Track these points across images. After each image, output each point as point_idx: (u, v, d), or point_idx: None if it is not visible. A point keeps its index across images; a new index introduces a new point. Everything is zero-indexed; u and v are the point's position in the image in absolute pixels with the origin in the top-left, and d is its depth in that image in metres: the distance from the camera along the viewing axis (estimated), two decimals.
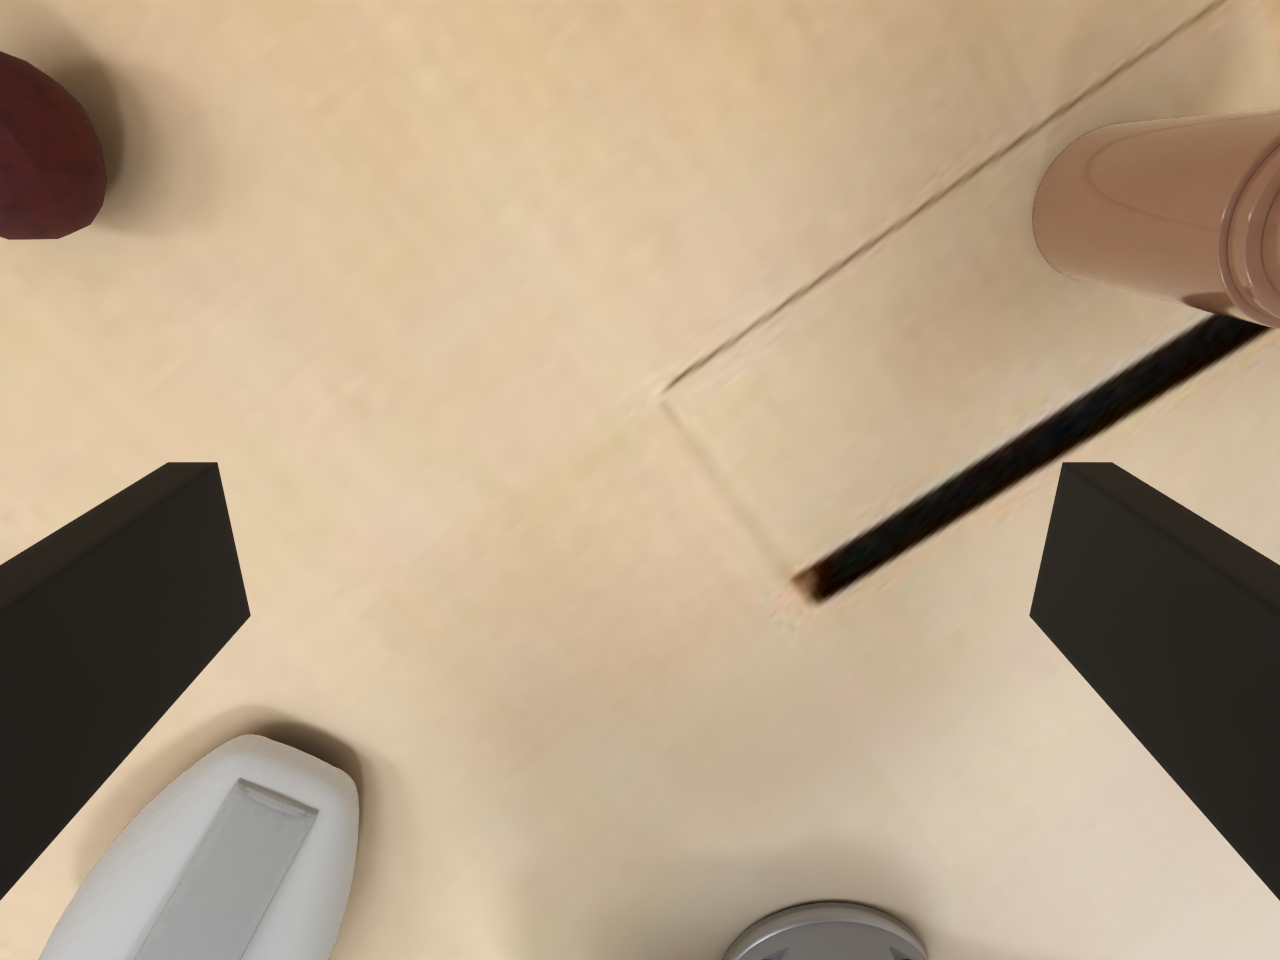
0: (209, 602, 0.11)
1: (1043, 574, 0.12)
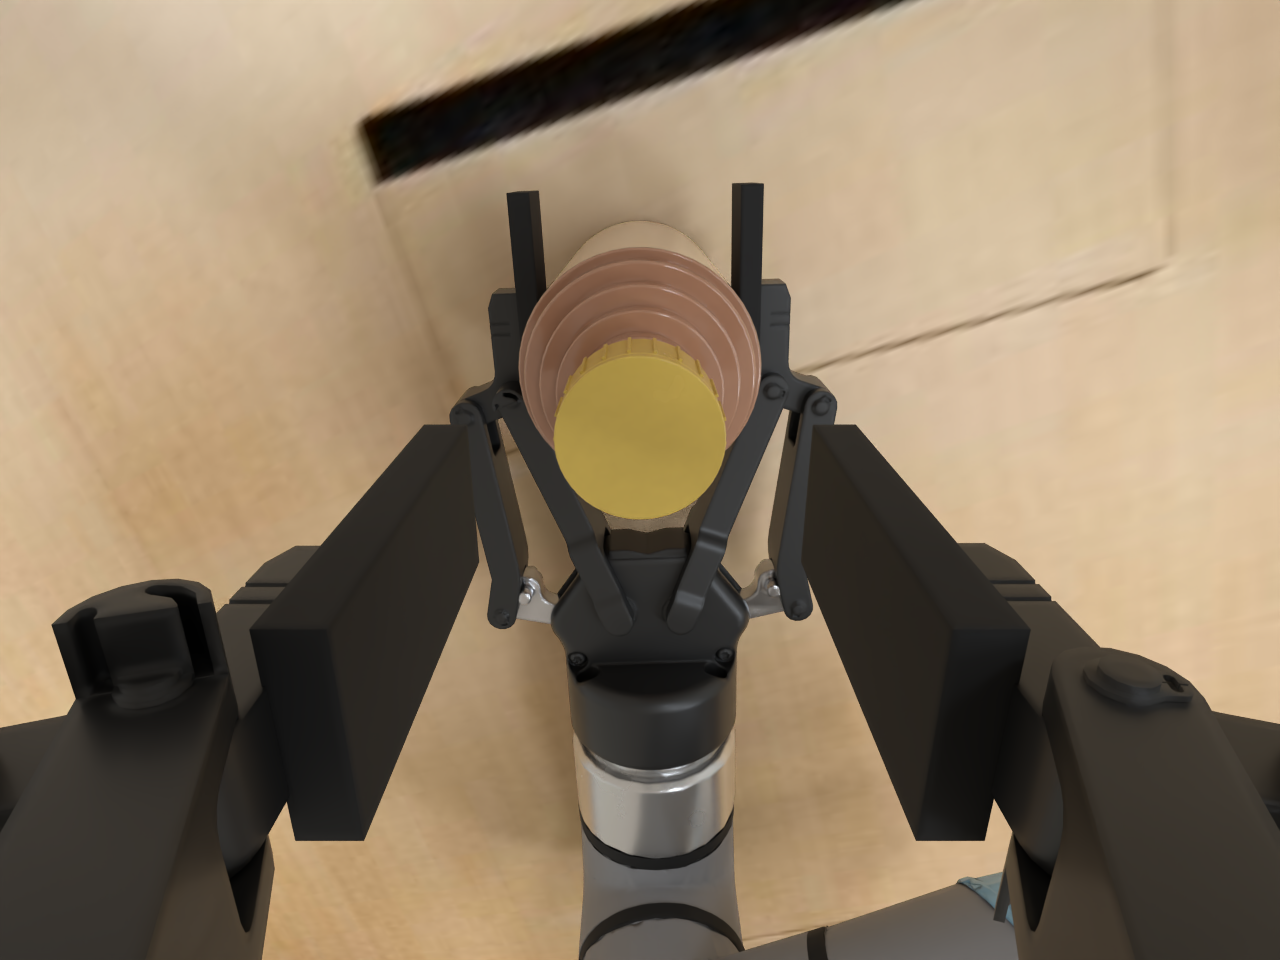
0: (464, 545, 0.13)
1: (806, 523, 0.14)
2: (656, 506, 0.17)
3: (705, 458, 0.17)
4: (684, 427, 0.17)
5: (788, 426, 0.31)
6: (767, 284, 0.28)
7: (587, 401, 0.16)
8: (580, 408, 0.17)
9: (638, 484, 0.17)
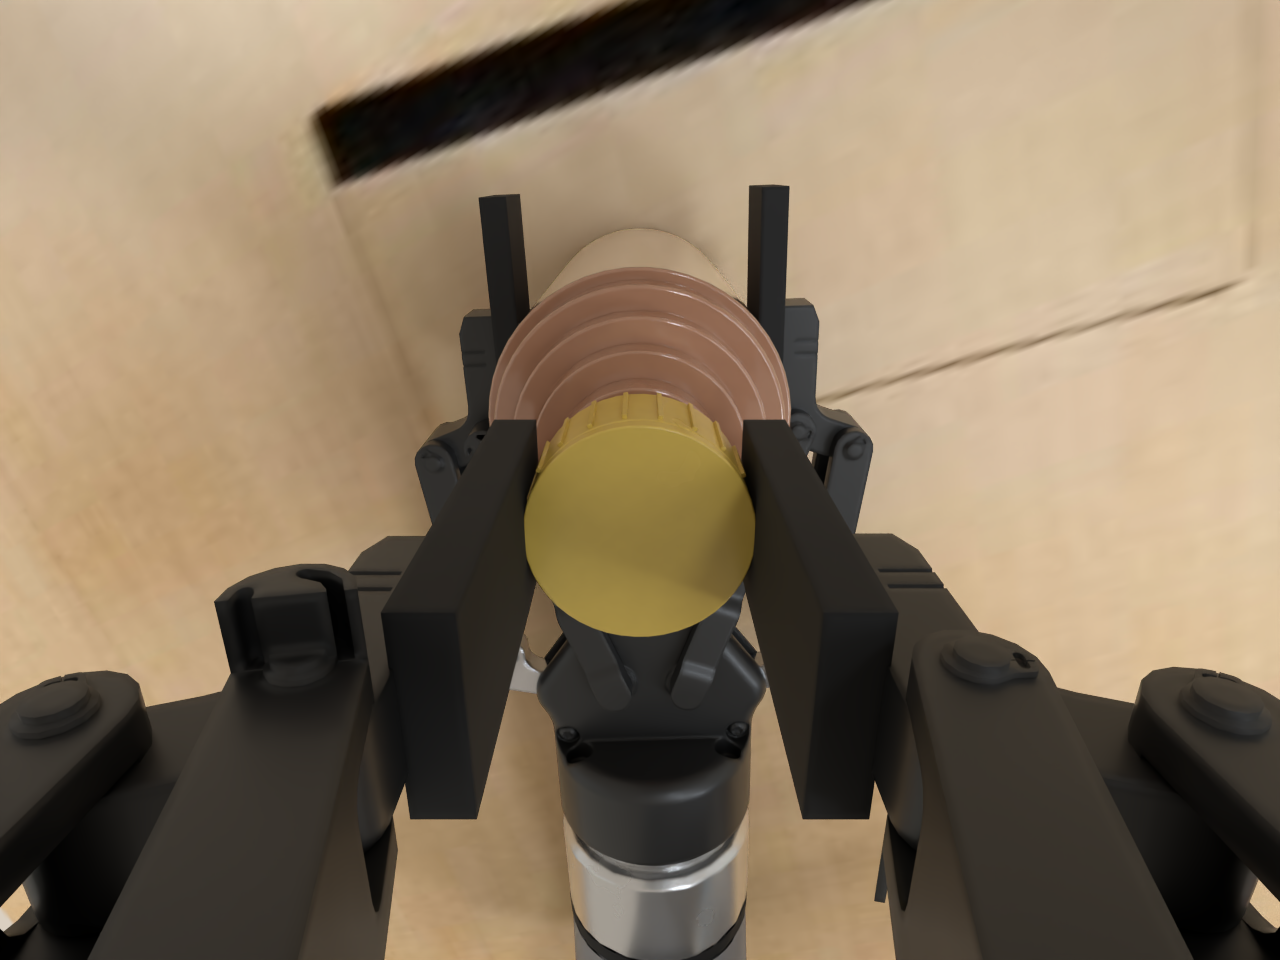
0: None
1: None
2: (661, 620, 0.13)
3: (728, 559, 0.13)
4: (700, 519, 0.12)
5: None
6: (791, 306, 0.23)
7: (567, 485, 0.12)
8: (558, 494, 0.12)
9: (637, 592, 0.13)
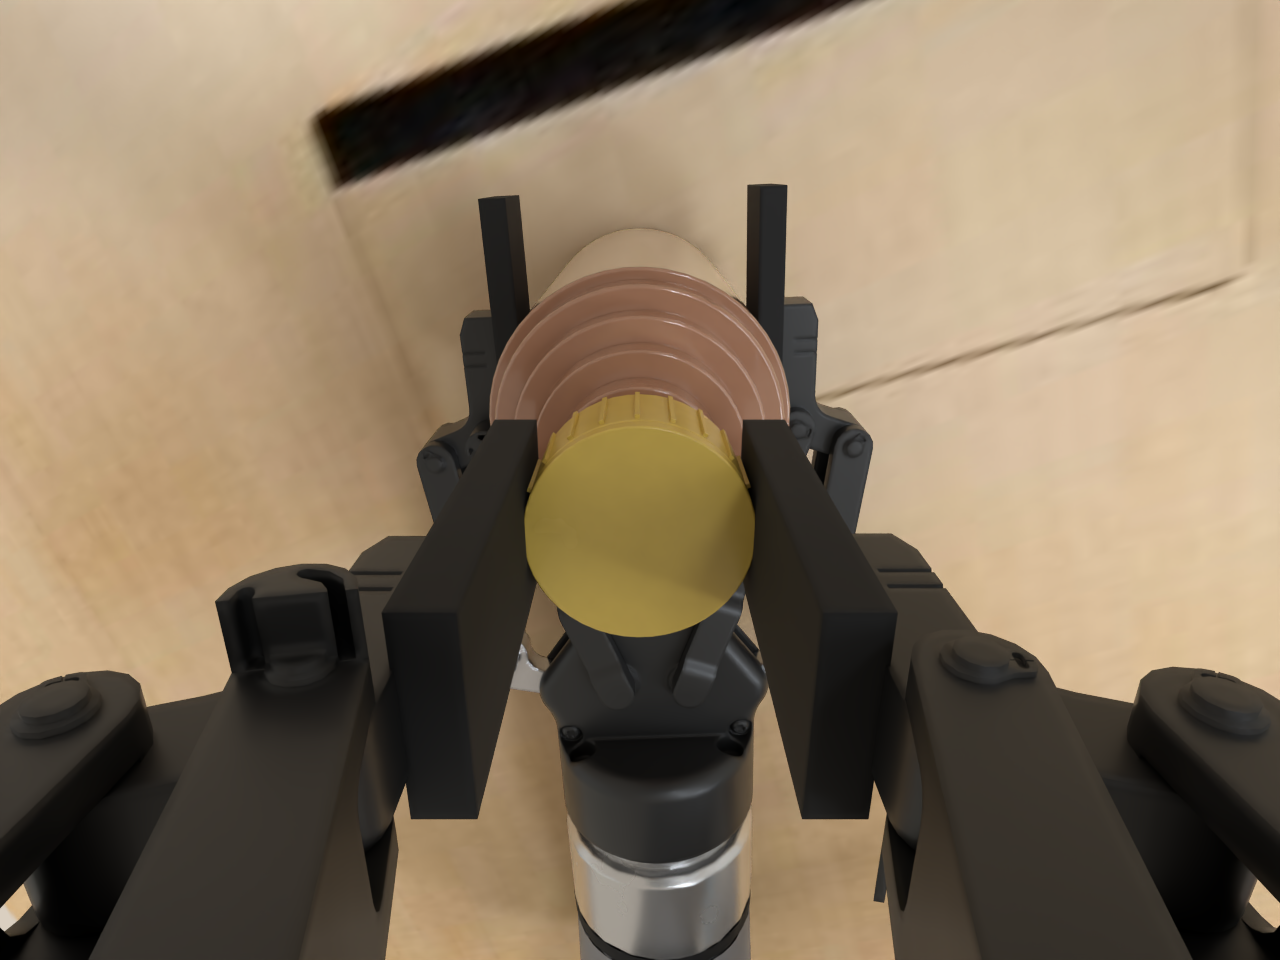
0: None
1: None
2: (720, 482, 0.12)
3: (625, 451, 0.12)
4: (596, 494, 0.12)
5: (813, 466, 0.27)
6: (790, 304, 0.23)
7: (617, 613, 0.13)
8: (630, 616, 0.13)
9: (698, 516, 0.12)
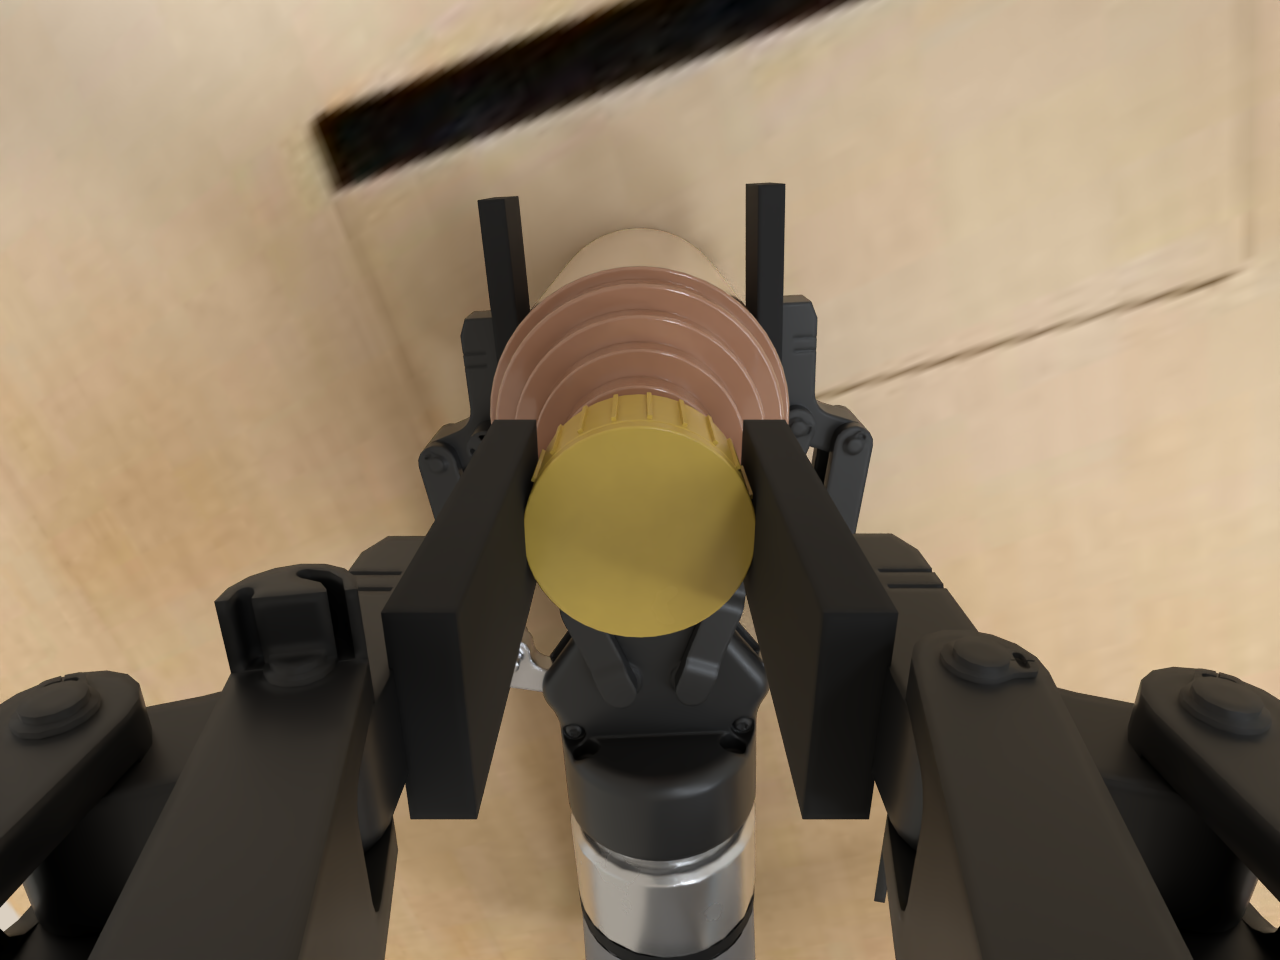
0: None
1: None
2: (550, 495, 0.12)
3: (563, 582, 0.13)
4: (614, 588, 0.13)
5: (813, 464, 0.27)
6: (789, 302, 0.23)
7: (728, 525, 0.12)
8: (728, 512, 0.12)
9: (593, 498, 0.12)
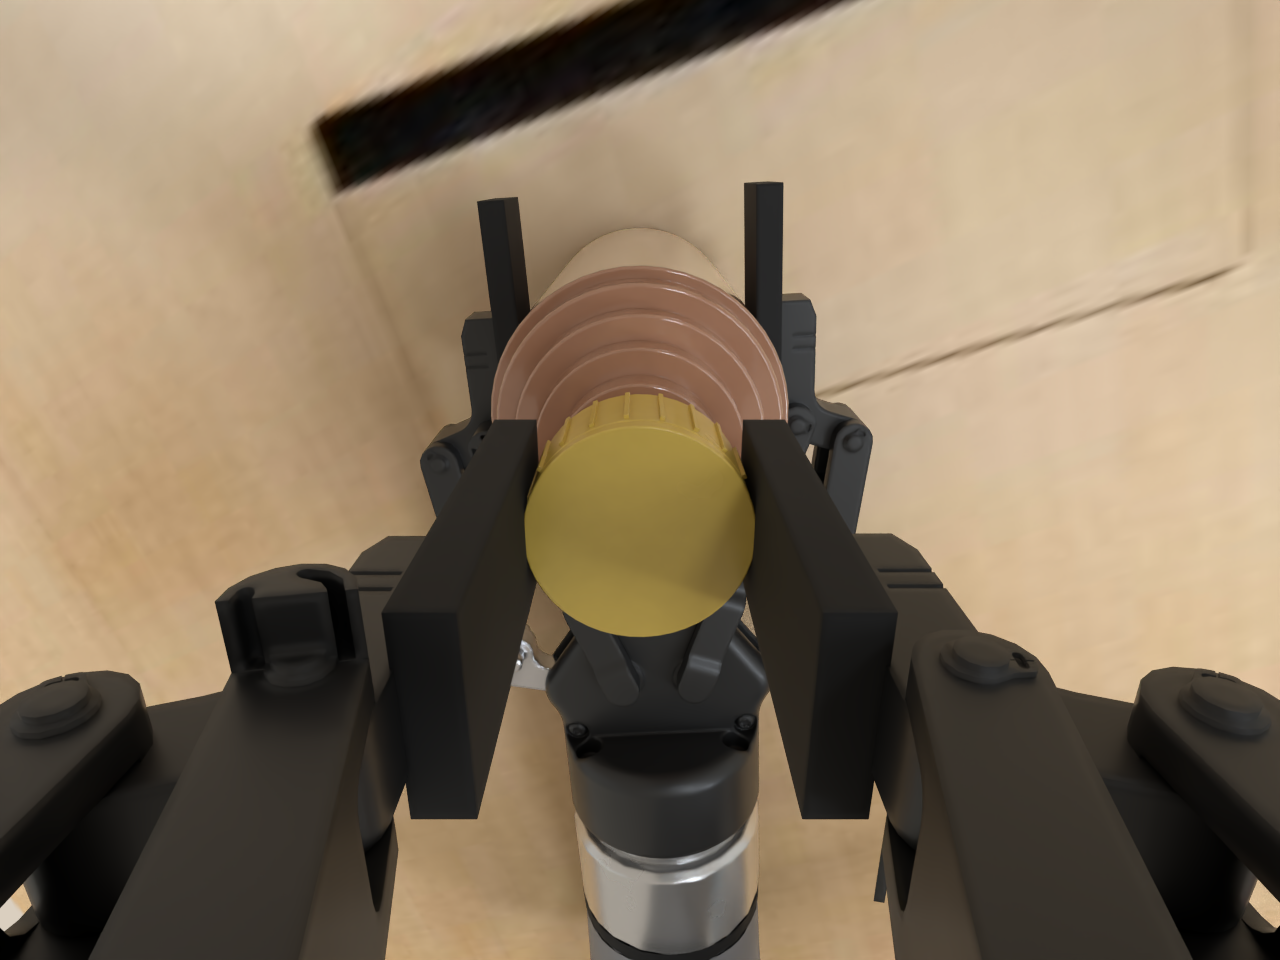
0: None
1: None
2: (632, 622, 0.13)
3: (715, 582, 0.13)
4: (702, 537, 0.12)
5: (814, 461, 0.27)
6: (788, 301, 0.23)
7: (588, 468, 0.12)
8: (576, 473, 0.12)
9: (619, 589, 0.13)
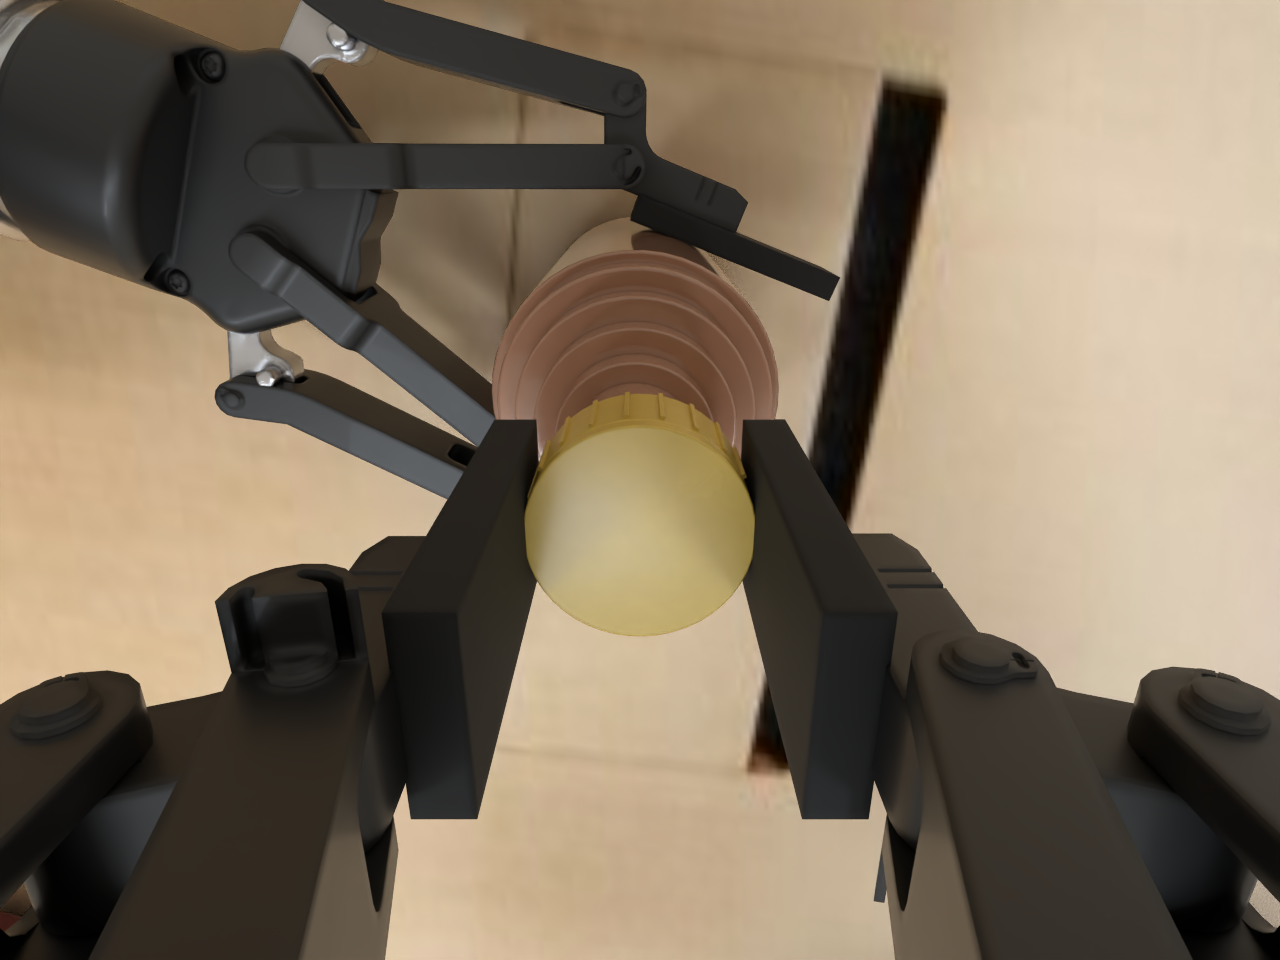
0: None
1: None
2: (632, 622, 0.13)
3: (715, 581, 0.13)
4: (702, 536, 0.12)
5: (466, 445, 0.28)
6: None
7: (588, 467, 0.12)
8: (576, 473, 0.12)
9: (618, 589, 0.13)
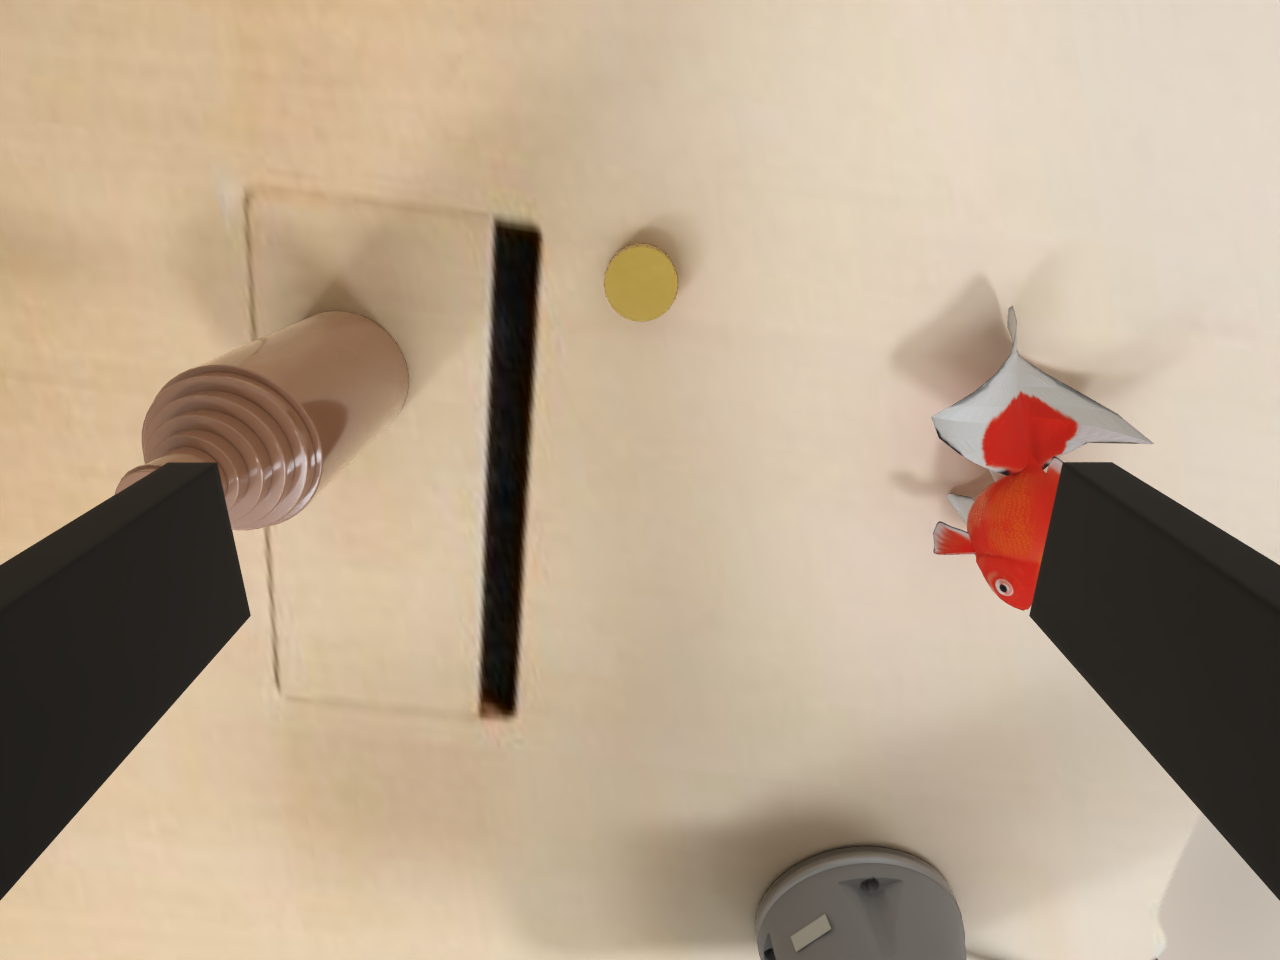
0: (209, 602, 0.11)
1: (1043, 574, 0.12)
2: (638, 315, 0.40)
3: (665, 300, 0.40)
4: (660, 284, 0.40)
5: None
6: None
7: (625, 260, 0.39)
8: (621, 262, 0.39)
9: (634, 303, 0.40)
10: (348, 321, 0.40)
